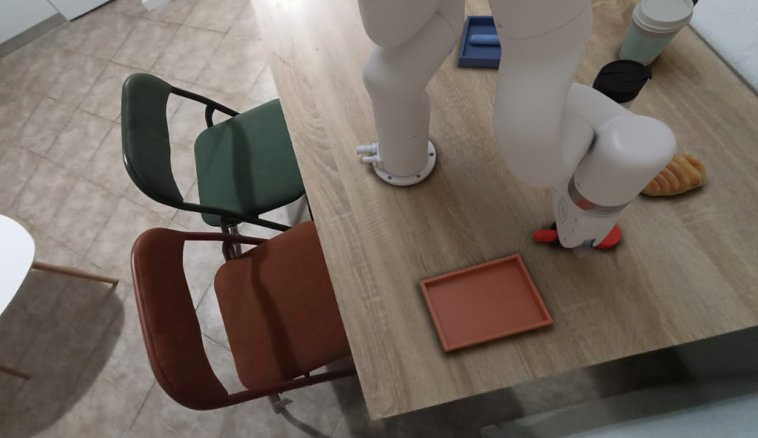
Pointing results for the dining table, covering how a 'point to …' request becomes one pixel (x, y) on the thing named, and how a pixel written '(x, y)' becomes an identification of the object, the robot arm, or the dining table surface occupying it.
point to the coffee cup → (654, 28)
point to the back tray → (475, 52)
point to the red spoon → (606, 243)
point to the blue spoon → (484, 39)
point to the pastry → (678, 176)
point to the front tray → (484, 303)
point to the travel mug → (622, 81)
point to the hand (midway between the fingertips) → (561, 236)
